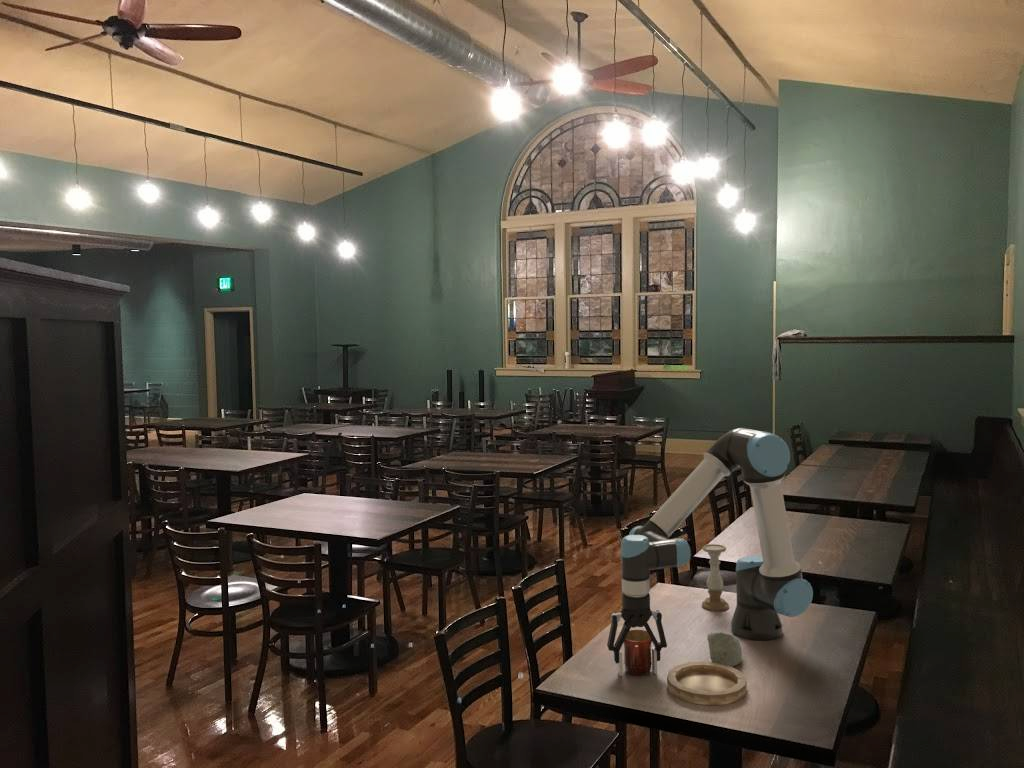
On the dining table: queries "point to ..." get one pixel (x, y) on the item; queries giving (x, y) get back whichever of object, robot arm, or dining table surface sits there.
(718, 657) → the decorative stone
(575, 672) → the dining table surface
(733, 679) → the round tray
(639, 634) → the mug
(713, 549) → the candle holder
